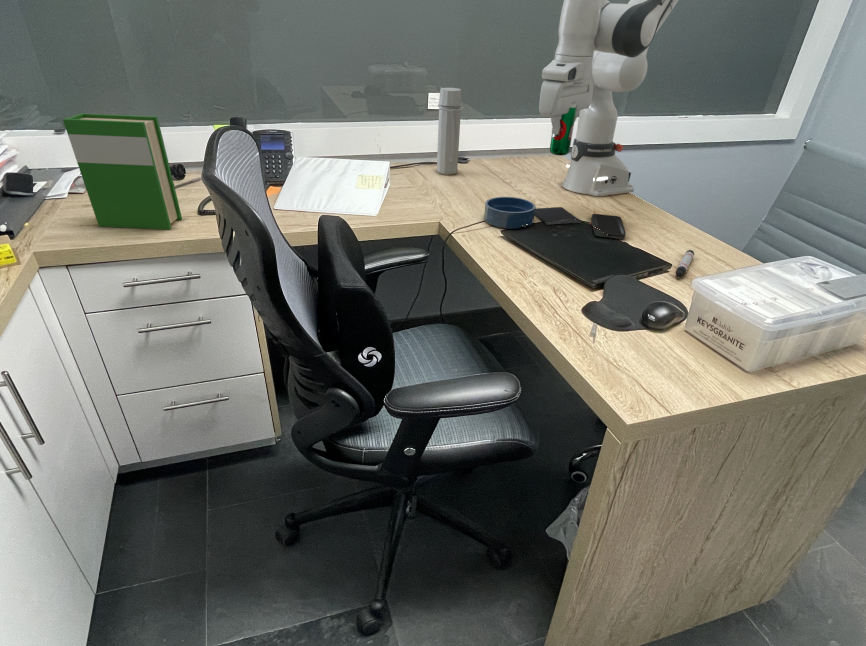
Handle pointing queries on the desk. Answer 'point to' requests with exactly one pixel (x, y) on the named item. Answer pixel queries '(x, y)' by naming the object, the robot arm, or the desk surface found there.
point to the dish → (509, 212)
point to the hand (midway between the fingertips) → (562, 132)
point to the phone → (609, 225)
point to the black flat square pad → (553, 214)
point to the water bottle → (448, 130)
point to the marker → (684, 263)
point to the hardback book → (124, 170)
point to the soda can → (564, 133)
